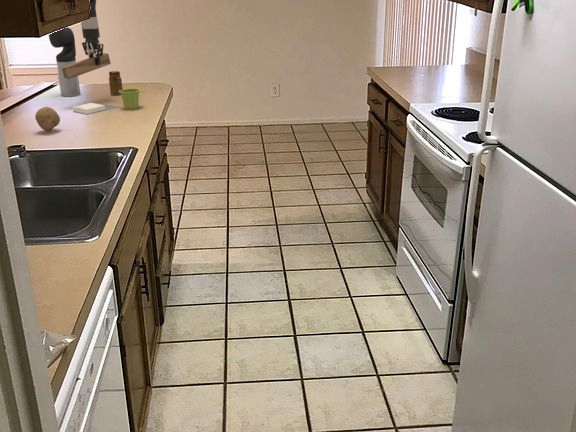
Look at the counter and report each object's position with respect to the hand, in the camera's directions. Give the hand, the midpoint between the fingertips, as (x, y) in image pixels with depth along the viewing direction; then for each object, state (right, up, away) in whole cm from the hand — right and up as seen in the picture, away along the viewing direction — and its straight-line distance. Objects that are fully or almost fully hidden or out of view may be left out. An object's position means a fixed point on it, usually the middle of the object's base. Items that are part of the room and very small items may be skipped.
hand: (95, 64), depth 291 cm
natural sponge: (-6, -37, -41) cm, 56 cm away
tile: (+4, -21, -8) cm, 23 cm away
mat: (+3, -22, -6) cm, 23 cm away
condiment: (+5, -11, +21) cm, 24 cm away
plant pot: (+19, -22, -6) cm, 30 cm away
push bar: (-3, -3, -2) cm, 5 cm away
